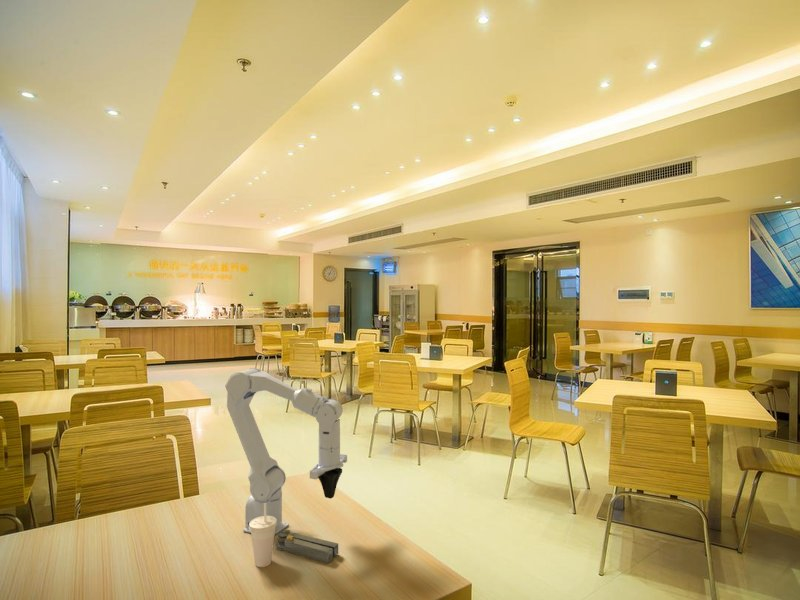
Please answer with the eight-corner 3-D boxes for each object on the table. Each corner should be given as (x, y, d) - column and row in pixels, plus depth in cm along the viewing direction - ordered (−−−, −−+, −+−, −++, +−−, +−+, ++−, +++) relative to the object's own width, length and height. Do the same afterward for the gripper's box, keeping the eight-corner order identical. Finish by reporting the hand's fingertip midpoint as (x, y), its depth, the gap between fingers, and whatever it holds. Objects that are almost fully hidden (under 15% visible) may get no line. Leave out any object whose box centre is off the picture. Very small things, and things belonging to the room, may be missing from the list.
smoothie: (268, 572, 102) (268, 510, 102) (243, 568, 103) (243, 508, 103) (281, 556, 108) (281, 498, 108) (257, 553, 109) (257, 496, 109)
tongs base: (271, 547, 112) (271, 533, 112) (284, 539, 116) (283, 525, 116) (328, 563, 105) (328, 548, 105) (339, 554, 109) (339, 539, 109)
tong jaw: (276, 544, 113) (276, 533, 113) (283, 538, 116) (283, 528, 116) (333, 558, 106) (333, 547, 106) (339, 552, 109) (339, 542, 109)
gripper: (325, 456, 111) (325, 511, 110) (356, 440, 124) (356, 489, 123) (303, 452, 114) (303, 505, 114) (335, 437, 127) (335, 485, 127)
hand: (329, 496), depth 119 cm, fingers closed
